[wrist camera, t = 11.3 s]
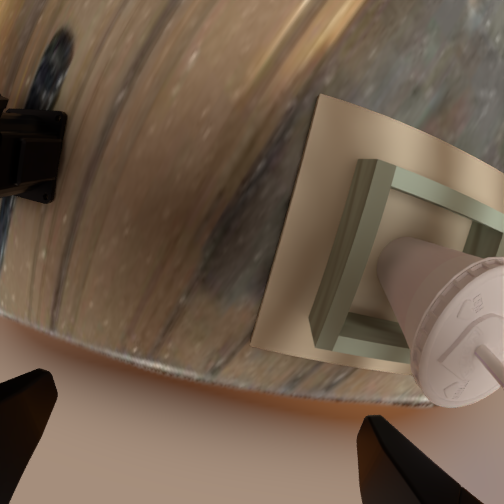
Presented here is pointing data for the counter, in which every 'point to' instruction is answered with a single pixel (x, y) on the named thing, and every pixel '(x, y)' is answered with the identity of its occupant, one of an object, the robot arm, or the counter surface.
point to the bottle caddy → (367, 233)
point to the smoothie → (447, 318)
